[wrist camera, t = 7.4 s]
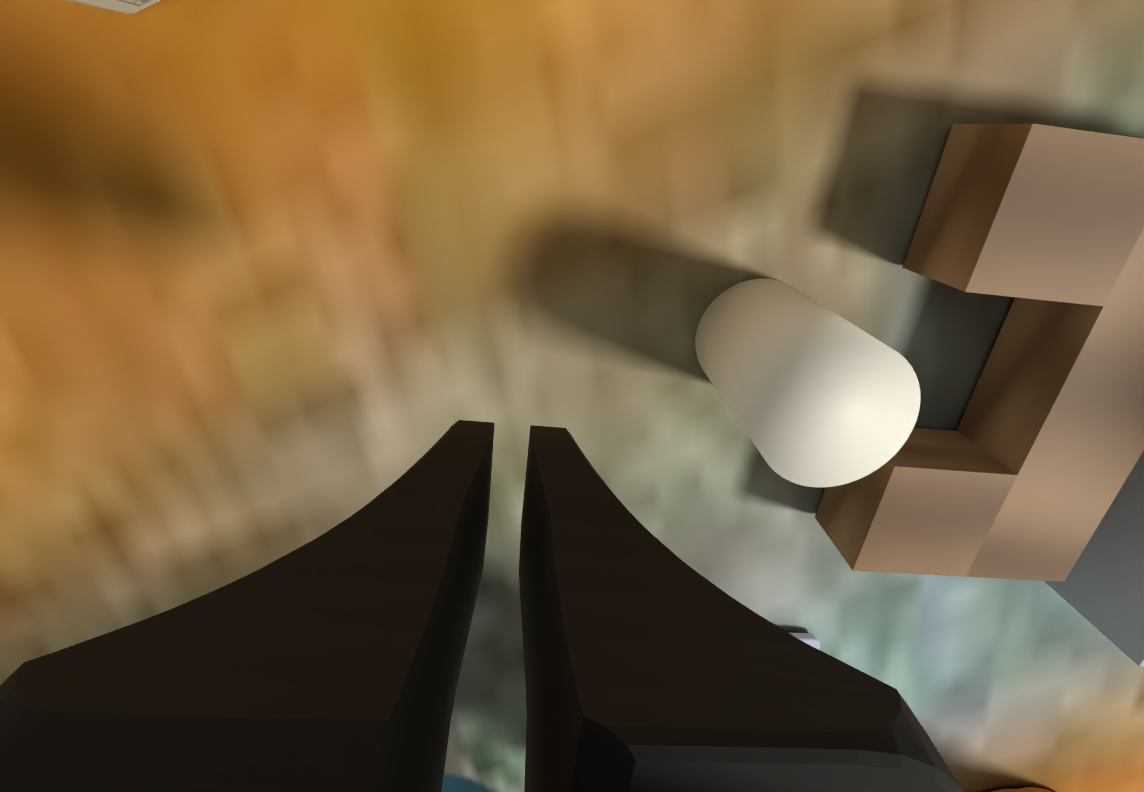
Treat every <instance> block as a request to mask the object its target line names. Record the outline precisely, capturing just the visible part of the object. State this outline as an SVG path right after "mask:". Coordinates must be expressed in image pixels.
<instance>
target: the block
mask: <svg viewBox="0 0 1144 792" xmlns="http://www.w3.org/2000/svg"><path fill="white" fill-rule="evenodd" d="M903 268H905V269H908V270H910V271H913V272H915V273H918V274H920V275H923V276H926V277H928V278H931V279H933V280H936V281H938V282H941V283H944V284H946V285H949V286H951V287H954V288H956V289H959V290H961V291H964V292H971V293H980V294H990V295H999V296H1009V297H1015V299H1014V301H1013V303H1012V306H1011V308H1010V310H1009V313H1008V315H1007V317H1006V319H1005V322H1004V324H1003V326H1002V328H1001V331H1000V333H999V335H998V337H997V340H996V342H995V344H994V347H993V349H992V351H991V353H990V356H989V358H988V360H987V362H986V365H985V367H984V369H983V371H982V374H981V376H980V378H979V380H978V383H977V385H976V387H975V390H974V392H973V394H972V396H971V399H970V401H969V403H968V405H967V408H966V410H965V412H964V414H963V417H962V419H961V421H960V424H959V426H958V428H957V430H956V431H954V430H942V429H929V428H917V427H914V428H913V430H912V432H911V434H910V435H909V437H908V439H907V440H906V442H905V443H904V445H903V446H902V447H901V448H900V450H899V451H898V452H897V453H896V454H895V455H894V456H893V457H892V458H891V459H890V460H889V461H888V462H887V463H885V464H884V465H883V466H881V467H880V468H879V469H877V470H876V471H874V472H872V473H871V474H869V475H867V476H865V477H863V478H861V479H859V480H856V481H853V482H850V483H847V484H843V485H839V486H833V487H825V490H824V493H823V496H822V498H821V501H820V504H819V507H818V510H817V513H816V516H815V518H816V519H817V521H818V522H819V524H820V525H821V526H822V528H823V529H824V531H825V532H826V533H827V535H828V536H829V538H830V539H831V541H832V542H833V543H834V545H835V546H836V548H837V549H838V550H839V552H840V553H841V555H842V556H843V557H844V559H845V560H846V562H847V563H848V564H849V566H850V567H851V569H852V570H853V571H871V572H890V573H909V574H928V575H946V576H965V577H984V578H1003V579H1022V580H1041V581H1060V582H1065V580H1066V578H1067V577H1068V575H1069V573H1070V572H1071V570H1072V568H1073V567H1074V565H1075V563H1076V562H1077V560H1078V558H1079V557H1080V555H1081V553H1082V552H1083V550H1084V548H1085V547H1086V545H1087V543H1088V542H1089V540H1090V538H1091V537H1092V535H1093V534H1094V532H1095V530H1096V529H1097V527H1098V525H1099V524H1100V522H1101V520H1102V519H1103V517H1104V515H1105V514H1106V512H1107V510H1108V509H1109V507H1110V505H1111V504H1112V502H1113V500H1114V499H1115V497H1116V495H1117V494H1118V492H1119V490H1120V489H1121V487H1122V485H1123V484H1124V482H1125V480H1126V479H1127V477H1128V476H1129V474H1130V472H1131V471H1132V469H1133V467H1134V466H1135V464H1136V462H1137V461H1138V459H1139V457H1140V456H1141V454H1142V452H1143V451H1144V139H1143V138H1135V137H1128V136H1121V135H1113V134H1106V133H1099V132H1091V131H1084V130H1077V129H1070V128H1062V127H1055V126H1048V125H1040V124H1033V123H1032V124H953V125H952V128H951V131H950V134H949V137H948V140H947V142H946V145H945V148H944V151H943V154H942V157H941V160H940V162H939V165H938V168H937V171H936V174H935V177H934V179H933V182H932V185H931V188H930V191H929V194H928V197H927V199H926V202H925V205H924V208H923V211H922V214H921V217H920V219H919V222H918V225H917V228H916V231H915V234H914V236H913V239H912V242H911V245H910V248H909V251H908V254H907V256H906V259H905V262H904V265H903Z"/></svg>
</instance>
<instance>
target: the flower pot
mask: <svg viewBox="0 0 1144 792" xmlns="http://www.w3.org/2000/svg"><path fill="white" fill-rule="evenodd" d="M991 792H1053V791H1050V790H1046V789H1042V788H1035V787H1025V788H1020V789H1000V790H995V791H991Z"/></svg>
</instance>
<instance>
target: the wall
mask: <svg viewBox="0 0 1144 792" xmlns="http://www.w3.org/2000/svg"><path fill="white" fill-rule="evenodd" d="M1045 582H1046V583H1047V584H1048V585H1049V586H1050V587H1051V588H1052V589H1054V590H1055V591H1056V592H1057V593H1058V594H1059V595H1060V596H1061V597H1063V598H1064V599H1065V600H1066V601H1067V602H1068V603H1069V604H1070V605H1071V606H1073V607H1074V608H1075V609H1076V610H1077V611H1078V612H1079V613H1080V614H1081V615H1083V616H1084V617H1085V618H1086V619H1087V620H1088V621H1089V622H1090V623H1091V624H1093V625H1094V626H1095V627H1096V628H1097V629H1098V630H1099V631H1100V632H1101V633H1103V634H1104V635H1105V636H1106V637H1107V638H1108V639H1109V640H1110V641H1111V642H1113V643H1114V644H1115V645H1116V646H1117V647H1118V648H1119V649H1120V650H1122V651H1123V652H1124V653H1125V654H1126V655H1127V656H1128V657H1129V658H1130V659H1132V660H1133V661H1134V662H1135V663H1136V664H1137V665H1138V666H1144V451H1143V452H1142V454H1141V456H1140V457H1139V459H1138V461H1137V462H1136V464H1135V466H1134V467H1133V469H1132V471H1131V472H1130V474H1129V476H1128V477H1127V479H1126V480H1125V482H1124V484H1123V485H1122V487H1121V489H1120V490H1119V492H1118V494H1117V495H1116V497H1115V499H1114V500H1113V502H1112V504H1111V505H1110V507H1109V509H1108V510H1107V512H1106V514H1105V515H1104V517H1103V519H1102V520H1101V522H1100V524H1099V525H1098V527H1097V529H1096V530H1095V532H1094V534H1093V535H1092V537H1091V538H1090V540H1089V542H1088V543H1087V545H1086V547H1085V548H1084V550H1083V552H1082V553H1081V555H1080V557H1079V558H1078V560H1077V562H1076V563H1075V565H1074V567H1073V568H1072V570H1071V572H1070V573H1069V575H1068V577H1067V578H1066V580H1065V582H1060V581H1045Z"/></svg>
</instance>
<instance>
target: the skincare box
mask: <svg viewBox="0 0 1144 792" xmlns="http://www.w3.org/2000/svg"><path fill="white" fill-rule="evenodd" d="M69 1H74V2H78V3H82V4H87V5H91V6H96V7H100V8H104V9H109V10H113V11H117V12H121V13H125V14H133V13H136V12H138V11H140V10H142V9H144V8H147V7H149V6H151V5H153V4H155V3H157V2H159V1H161V0H69Z"/></svg>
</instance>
